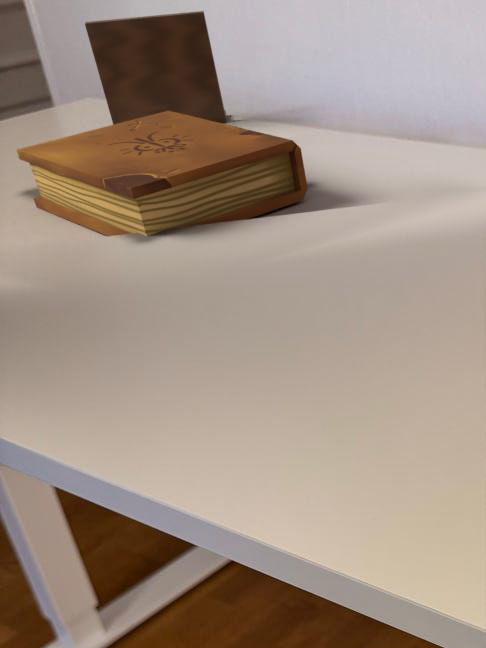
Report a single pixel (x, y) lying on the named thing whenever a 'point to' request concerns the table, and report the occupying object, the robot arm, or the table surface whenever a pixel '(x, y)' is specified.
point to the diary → (165, 174)
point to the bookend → (157, 66)
